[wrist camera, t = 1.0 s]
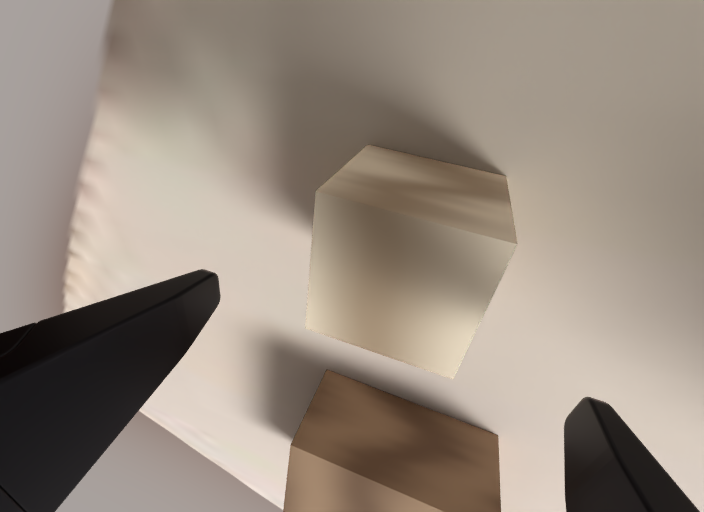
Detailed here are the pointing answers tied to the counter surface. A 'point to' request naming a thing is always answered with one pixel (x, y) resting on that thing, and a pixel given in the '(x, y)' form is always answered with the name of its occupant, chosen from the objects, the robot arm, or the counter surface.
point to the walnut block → (387, 456)
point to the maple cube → (408, 256)
